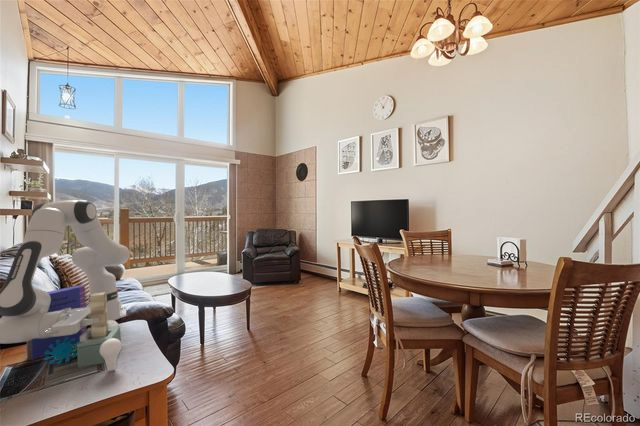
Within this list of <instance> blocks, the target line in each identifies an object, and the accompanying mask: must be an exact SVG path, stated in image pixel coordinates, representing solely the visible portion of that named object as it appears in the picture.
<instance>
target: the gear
mask: <svg viewBox="0 0 640 426" xmlns="http://www.w3.org/2000/svg"><path fill="white" fill-rule="evenodd" d="M68 340H69V338H68V337H65V338H64V341H63V342H62V343H61V344H59V343H60V342H61V340H60V339H59V340H56V343H57V346H56V347H55V348H53V344H51V345H49V346H48V347H49V348H50V349H53V351H52V352H49V350H46V351H45V353H44V354H45V355H46V356H44V360H45V361H46V362H47V361H48V363H49V365H52V366H53V365H54V363H55V362H56V361H57V362H56V365H58V366H61V364H62V363H63V360H65V361H64V362H65V363H69V362H70V361H71V359H70V357H69V356H70V355H71V356H72V358H75V357H77V344H78V343H79V341H77V342H76V343H73V344H70V343H71V342H74V341H76V340H75V338H72V339H71V340H70V341H69V342H67V343H65V342H66V341H68ZM48 354H49V355H51V356H48Z"/></svg>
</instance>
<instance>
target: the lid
mask: <svg viewBox="0 0 640 426" xmlns="http://www.w3.org/2000/svg"><path fill="white" fill-rule="evenodd" d="M119 331H120V332H121V326H118V327H115V328H109V329H108V334H109V335H108V336H106V337H101V338H95V339H92V334H91V327H88V328H87V330H86V331H85V332H84V333H83V334H82V335H81V336H80V342H79V343H78V344H77V345H76V347H77V348H79V347H84V346H90V345H96V344H101V343H104V342H105V341H106V340H108V339H111V338H114V337H115V336H116V335H117V333H118V332H119Z"/></svg>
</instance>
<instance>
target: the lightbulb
mask: <svg viewBox="0 0 640 426" xmlns="http://www.w3.org/2000/svg"><path fill="white" fill-rule="evenodd" d="M121 349H122V341H121V342H120V341H119V340H118V339H115V338H111V339H108V340H106V341H105V342H104V343H103V344H102V345H101V347H100V354H101V356H102V357H103V358H104V359H105V365H106V370H107V371H108V372H113V371H114V370H115V369H116V368H117V362H118V356H119V354H120V352H121Z"/></svg>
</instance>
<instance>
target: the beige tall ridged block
mask: <svg viewBox="0 0 640 426" xmlns="http://www.w3.org/2000/svg"><path fill="white" fill-rule="evenodd" d="M89 303H90V310H91V318H94V317H100V321H99V322H98V323H93V324H91V325H90V328H91V334H92V339H95V338H101V337H106V336H108V317H107V294H106V292H101V293H94V294H92V295H91V296H90V302H89Z"/></svg>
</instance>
